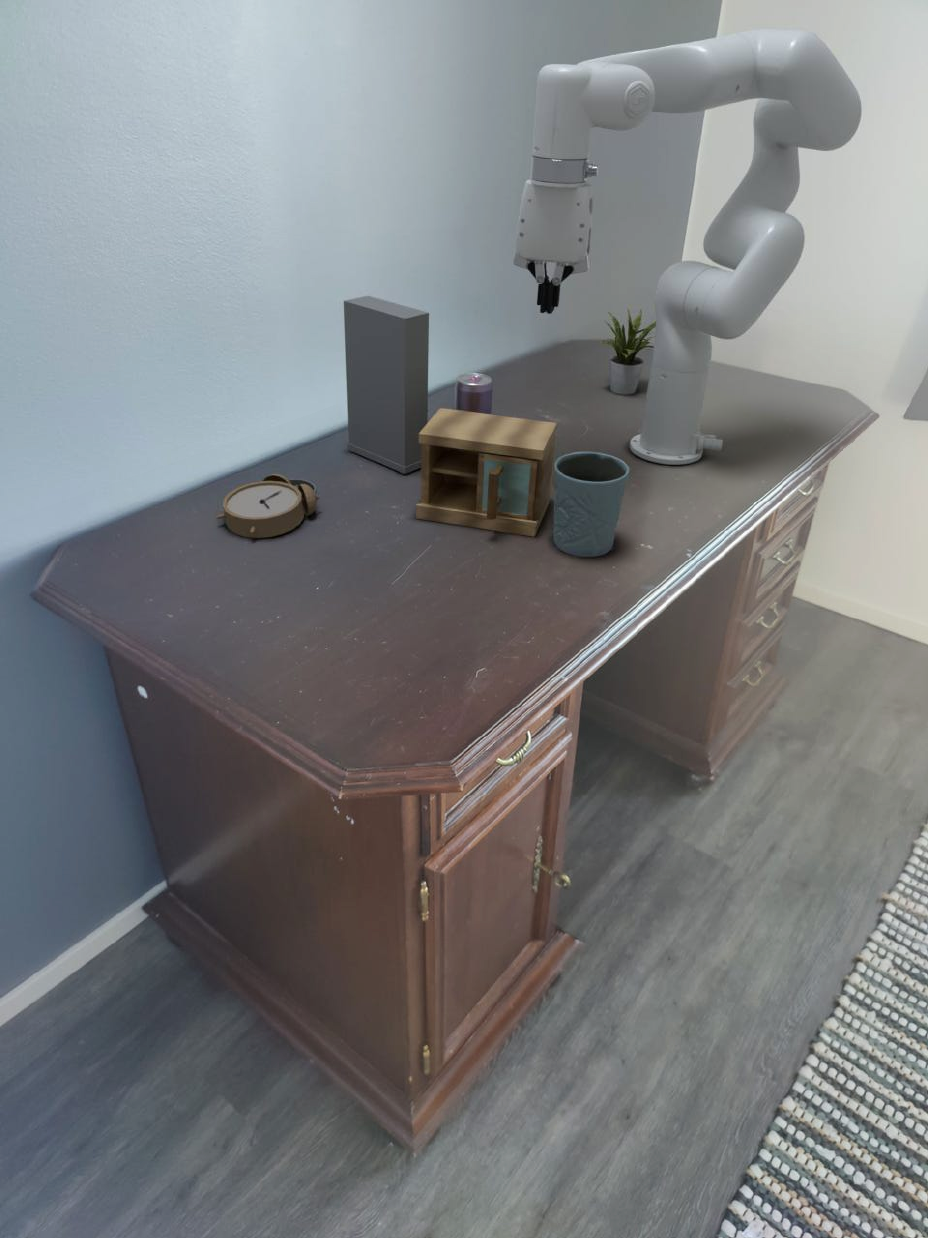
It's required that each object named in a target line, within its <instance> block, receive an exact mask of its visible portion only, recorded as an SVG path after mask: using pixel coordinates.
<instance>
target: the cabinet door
mask: <svg viewBox="0 0 928 1238" xmlns="http://www.w3.org/2000/svg"><path fill="white" fill-rule="evenodd" d="M537 466H538V460H537V459H530V458H523V457H516V456H508V455H501V454H494V453H486V452H479V461H478V482H477V502H476V512H477V513H484V514H487V518H488V519H490V520H494V519H496V517H497V516H504V517H510V518H517V519H524V520H530V521H532V520H533V512H534V501H535V489H536V478H537Z"/></svg>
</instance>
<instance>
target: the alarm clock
mask: <svg viewBox="0 0 928 1238" xmlns="http://www.w3.org/2000/svg"><path fill="white" fill-rule="evenodd" d="M317 492H318V491H317V486H316V484H315V483H314V482H312V481H310V480H307V479H302V478H290V479H289V478H287V477H286V476H285V475H283V474H280V473H271V474H268V475H266V476H265V477H264V478H263V480H262V481H256V482H249V483H247V484H243V485H241V486H239V487H236V488H235V489H233V490H231V491H230V492H228V493H227V494H226V496H225V497H224V498H223V502H222V509H223V513H220V514H218V515H216V518H217V520H220V519H225V524H226V527H227V528H228V530H229V531H231V532H232V533H234V534H235V535H237V536H241V537H243V538H244V537H245V538H250V539H251V538H252V539H262V538H263V539H265V538H272V537H276V536H280V535H283V534H285V533H289V532H290V531H293V530H294V529H295V528H297V527H298V526H299V525H301V522H302V521H303V520H304V518H305V516H307V517H308V516H310V515H312V514H313V513H315V511H316V509H317V505H318V504H317V503H318V500H319V499H321V498H320V496H319V495H317V494H318V493H317Z"/></svg>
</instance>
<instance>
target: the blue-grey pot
mask: <svg viewBox="0 0 928 1238" xmlns="http://www.w3.org/2000/svg"><path fill="white" fill-rule="evenodd" d="M629 474H630V467H629V465H628V464H626V462H625V461H624V460H622V459H620V458H619V457H617V456H613V455H611V454H608V453H604V452H598V451H597V452H596V451H575V452H570V453H568V454H567V453H566V454H564V455H562V456H559V457H558V458H557V459H556V460H555V461H554V464H553V479H554V483H553V485H554V488H555V489H554V490H555V491H554V494H553V498H554V499H553V504H554V505H553V512H554V513H553V533H552V540H553V544H554V546H556V548H557V549H558V550H560V551H561V552H563V553H565V554H568V555H570V556H574V557H581V558H595V557H596V558H597V557H601V556H603V555H606V554H608V552H610V551H611V550H612V548H613V545H614V541H615V535H616V528H617V526H618V522H619V516H620V513H621V509H622V508H621V507H622V503H623V497H624V495H625V490H626V485H627V481H628V478H629Z"/></svg>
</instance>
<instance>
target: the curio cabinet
mask: <svg viewBox="0 0 928 1238" xmlns="http://www.w3.org/2000/svg"><path fill="white" fill-rule="evenodd" d="M557 427H558V422H553V421H545V420H537V419H536V420H535V419H529V418H522V417H521V418H520V417H512V416H505V415H497V414H492V413H491V414H483V413H475V412H467V411H460V410H454V409H451V408H443V407H440V408H439V409H438V410H437V411H436V412H435V413H434V415H433V416H432V417H431V418H430V420H429V421H427V424H426V426H425V427H424V428H423V429H422V430H421V432H420V433H419V443H421V444H422V458H421V468H420V470H421V471H420V472H421V474H420V475H421V476H420V483H421V484H420V503H416V505H415V509H416V510H415V518H416V519H417V520H425V521H430V522H437V523H444V524H449V525H456V526H463V527H467V528H468V527H469V528H474V529H475V528H476V529H482V530H489V531H495V532H500V533H501V532H502V533H508V534H514V535H520V536H527V537H534V538H535V537H536V535H537V533H538V530H539V528H540V525H541V523H542V521H543V518H544V517H545V514H546V511H547V509H548V507H549V504H550V499H551V490H552V479H553V471H554V458H555V448H556V439H557ZM479 452H486V453H494V454H501V455H508V456H516V457H523V458H530V459H537V460H538V466H537V478H536V489H535V501H534V512H533V520H532V521H530V520H524V519H517V518H510V517H504V516H497V517H496V519H494V520H490V519H488V518H487V514H484V513H477V512H476V502H477V482H478V461H479Z"/></svg>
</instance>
